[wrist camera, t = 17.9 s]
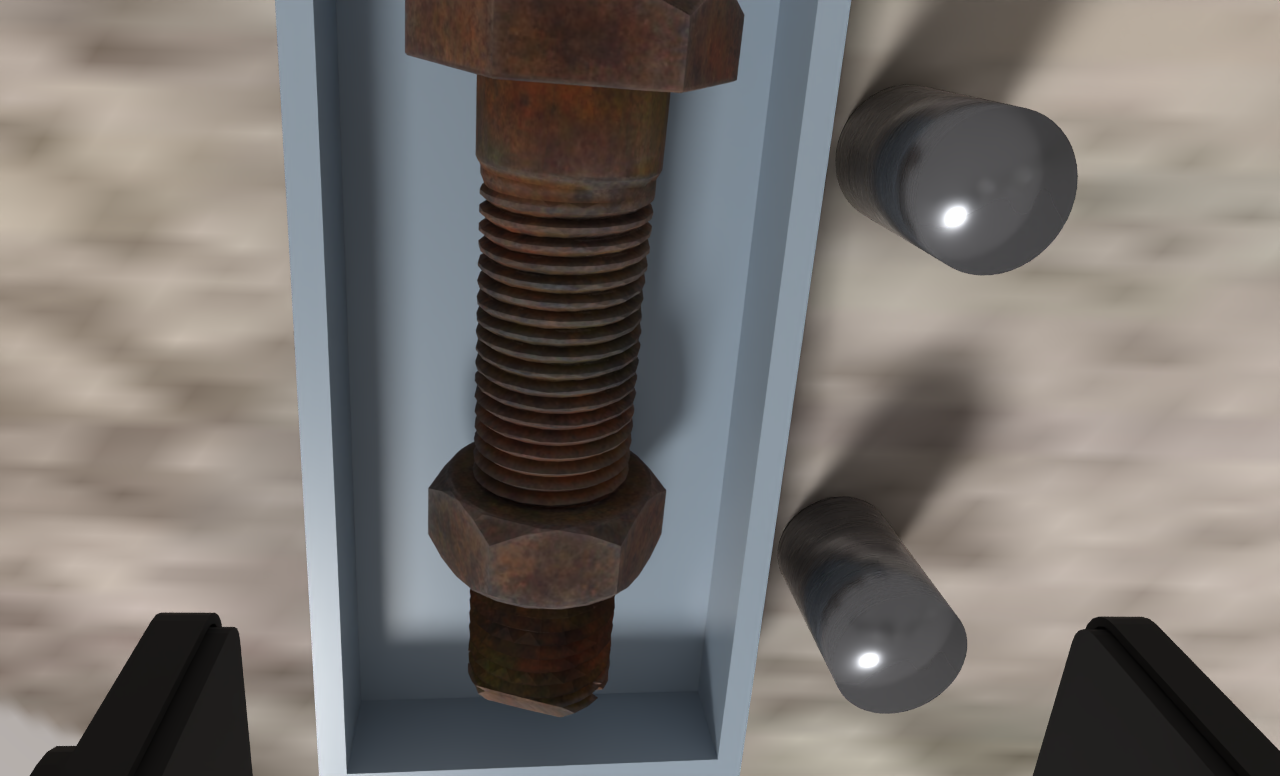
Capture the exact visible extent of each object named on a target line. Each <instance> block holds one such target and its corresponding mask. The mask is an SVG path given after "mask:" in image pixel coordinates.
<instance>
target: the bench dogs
mask: <svg viewBox="0 0 1280 776" xmlns="http://www.w3.org/2000/svg"><path fill="white" fill-rule="evenodd" d="M836 173H837V179H838V182H839V185H840V188H841V190H842V192H843V194H844V196H845V197H846V199H847V200H848V202H849V203H850V204H851V205H852V206H853V207H854V208H855V209H856V210H857V211H859V212H860V213H862V214H863V215H865V216H866V217H868V218H870V219H871V220H873V221H875V222H876V223H878V224H880V225H881V226H883V227H885V228H886V229H888V230H890V231H892V232H893V233H895V234H897V235H898V236H900V237H902V238H903V239H905V240H907V241H908V242H910V243H912V244H913V245H915V246H917V247H918V248H920V249H922V250H923V251H925V252H927V253H928V254H930V255H932V256H933V257H935V258H937V259H938V260H940V261H942V262H943V263H945V264H947V265H948V266H950V267H952V268H954V269H956V270H958V271H961V272H964V273H968V274H973V275H994V274H1000V273H1004V272H1008V271H1011V270H1013V269H1016V268H1018V267H1020V266H1022V265H1024V264H1026V263H1028V262H1029V261H1031V260H1032V259H1034V258H1035V257H1036V256H1038V255H1039V254H1040V253H1041V252H1042V251H1044V250H1045V249H1046V248H1047V247H1048V246H1049V245H1050V244H1051V242H1052V241H1053V240H1054V239H1055V238H1056V236H1057V235H1058V234H1059V232H1060V231H1061V229H1062V228H1063V226H1064V224H1065V222H1066V221H1067V219H1068V216H1069V214H1070V212H1071V209H1072V206H1073V203H1074V200H1075V195H1076V190H1077V177H1078V175H1077V164H1076V159H1075V155H1074V152H1073V149H1072V146H1071V144H1070V142H1069V140H1068V138H1067V137H1066V135H1065V134H1064V133H1063V131H1062V130H1061V129H1060V128H1059V127H1058V126H1057V125H1056V124H1055V123H1054V122H1053V121H1052V120H1050V119H1049V118H1048V117H1046V116H1045V115H1043V114H1040V113H1038V112H1036V111H1033V110H1030V109H1027V108H1022V107H1018V106H1013V105H1008V104H1004V103H999V102H994V101H990V100H985V99H980V98H975V97H971V96H966V95H961V94H957V93H952V92H947V91H943V90H938V89H933V88H929V87H924V86H918V85H900V86H894V87H891V88H887V89H885V90H883V91H880V92H878V93H877V94H875V95H873V96H871V97H870V98H869V99H867V100H866V101H865V102H864V103H862V104H861V105H860V106H859V107H858V108H857V109H856V111H855V112H854V113H853V114H852V116H851V117H850V118H849V120H848V122H847V123H846V125H845V127H844V129H843V131H842V133H841V136H840V139H839V142H838V146H837V151H836ZM778 563H779V568H780V570H781V573H782V575H783V577H784V579H785V581H786V583H787V585H788V587H789V589H790V591H791V593H792V595H793V597H794V599H795V601H796V603H797V605H798V607H799V609H800V611H801V614H802V616H803V618H804V620H805V622H806V624H807V626H808V628H809V630H810V632H811V634H812V636H813V638H814V640H815V642H816V644H817V646H818V648H819V650H820V652H821V654H822V656H823V658H824V660H825V662H826V664H827V666H828V668H829V670H830V672H831V674H832V676H833V678H834V680H835V682H836V684H837V686H838V688H839V690H840V692H841V693H842V694H843V696H844V697H845V698H846V699H847V700H848V701H850V702H851V703H852V704H854V705H855V706H857V707H859V708H861V709H864V710H866V711H870V712H875V713H888V714H889V713H899V712H904V711H908V710H911V709H915V708H917V707H919V706H922V705H924V704H926V703H928V702H929V701H931V700H933V699H934V698H936V697H937V696H938V695H940V694H941V693H942V692H943V691H944V690H945V689H946V688H947V687H948V686H949V685H950V684H951V683H952V682H953V681H954V679H955V678H956V677H957V675H958V673H959V672H960V670H961V668H962V666H963V663H964V660H965V657H966V652H967V637H966V632H965V629H964V626H963V624H962V623H961V621H960V619H959V618H958V617H957V615H956V614H955V613H954V611H953V610H952V609H951V607H950V606H949V605H948V603H947V602H946V600H945V599H944V598H943V596H942V595H941V594H940V592H939V591H938V590H937V588H936V587H935V586H934V584H933V583H932V582H931V580H930V579H929V578H928V576H927V575H926V574H925V572H924V571H923V569H922V568H921V567H920V565H919V564H918V563H917V561H916V560H915V559H914V557H913V556H912V555H911V553H910V552H909V551H908V549H907V548H906V547H905V545H904V544H903V543H902V541H901V540H900V538H899V537H898V536H897V534H896V533H895V532H894V530H893V529H892V528H891V526H890V525H889V524H888V522H887V521H886V520H885V518H884V517H883V516H882V514H881V513H880V512H879V511H878V510H877V509H876V508H875V507H873V506H872V505H871V504H869V503H867V502H865V501H862V500H859V499H856V498H851V497H835V498H829V499H825V500H822V501H819V502H817V503H815V504H812V505H811V506H809V507H807V508H806V509H804V510H803V511H801V512H800V513H799V514H798V515H797V516H796V517H795V518H794V519H793V520H792V521H791V522H790V523H789V525H788V526H787V528H786V529H785V531H784V533H783V535H782V537H781V540H780V543H779V547H778Z"/></svg>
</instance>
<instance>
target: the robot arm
mask: <svg viewBox="0 0 1280 776" xmlns="http://www.w3.org/2000/svg"><path fill="white" fill-rule="evenodd" d="M30 776H253V774H252V764H251V753H250V742H249V731H248V721H247V710H246V699H245V689H244V678H243V667H242V657H241V646H240V637H239V632H238V630H237V628H235V627H222V624H221V620H220V618H219V616H218V615H217V614H216V613H159V614H157V615H156V616H155V617H154V618H153V620H152V621H151V622H150V624H149V626H148V627H147V629H146V631H145V632H144V634H143V636H142V637H141V639H140V641H139V642H138V644H137V646H136V647H135V649H134V651H133V652H132V654H131V656H130V657H129V659H128V661H127V662H126V664H125V666H124V667H123V669H122V671H121V672H120V674H119V676H118V677H117V679H116V681H115V682H114V684H113V686H112V687H111V689H110V691H109V692H108V694H107V696H106V697H105V699H104V701H103V702H102V704H101V706H100V707H99V709H98V711H97V712H96V714H95V716H94V717H93V719H92V721H91V722H90V724H89V726H88V727H87V729H86V731H85V732H84V734H83V736H82V738H81V739H80V741H79V742H78V744H77V746H56V747H55V748H53V749H51V750H50V751H48V752H47V753H46V754H45V755H44V756H43V758H42V759H41V760H40V761H39V763H38V764H37V765H36V767H35V768H34V770H33V772H32V773H31V775H30ZM1033 776H1280V751H1279V750H1278V749H1277V748H1276V747H1275V746H1274V745H1273V744H1272V743H1271V742H1270V740H1269V739H1268V738H1267V737H1266V736H1265V735H1264V734H1263V733H1262V732H1261V731H1260V730H1259V729H1258V728H1257V727H1256V726H1255V725H1254V724H1253V723H1252V722H1251V721H1250V720H1249V719H1248V718H1247V717H1246V716H1245V715H1244V714H1243V713H1242V712H1241V711H1240V710H1239V709H1238V708H1237V707H1236V706H1235V705H1234V704H1233V703H1232V701H1231V700H1230V699H1229V698H1228V697H1227V696H1226V695H1225V694H1224V693H1223V692H1222V691H1221V690H1220V689H1219V688H1218V687H1217V686H1216V685H1215V684H1214V683H1213V682H1212V681H1211V680H1210V679H1209V678H1208V677H1207V676H1206V675H1205V674H1204V673H1203V672H1202V671H1201V670H1200V669H1199V668H1198V667H1197V666H1196V665H1195V664H1194V662H1193V661H1192V660H1191V659H1190V658H1189V657H1188V656H1187V655H1186V654H1185V653H1184V652H1183V651H1182V650H1181V649H1180V648H1179V647H1178V646H1177V645H1176V644H1175V643H1174V642H1173V641H1172V640H1171V639H1170V638H1169V637H1168V636H1167V635H1166V634H1165V633H1164V632H1163V631H1162V630H1161V629H1160V628H1159V627H1158V626H1157V624H1155V623H1154V622H1153V621H1151V620H1150V619H1148V618H1144V617H1097V618H1093V619H1092V620H1091V621H1090V622H1089V623H1088V625H1087V627H1086V629H1083V630H1080V631H1078V632H1077V633H1076V634H1075V636H1074V639H1073V641H1072V644H1071V648H1070V651H1069V655H1068V658H1067V661H1066V665H1065V668H1064V672H1063V675H1062V678H1061V682H1060V685H1059V689H1058V692H1057V695H1056V699H1055V702H1054V706H1053V709H1052V712H1051V716H1050V719H1049V723H1048V726H1047V729H1046V733H1045V736H1044V739H1043V743H1042V746H1041V750H1040V753H1039V756H1038V760H1037V763H1036V767H1035V770H1034V773H1033Z"/></svg>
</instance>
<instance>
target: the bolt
mask: <svg viewBox="0 0 1280 776" xmlns="http://www.w3.org/2000/svg"><path fill="white" fill-rule="evenodd" d="M744 16H745V15H744V13H743V11H742V9H741V7H740V5H739V3H738V1H737V0H405V53H406V55H408V56H412V57H416V58H419V59H423V60H427V61H430V62H434V63H437V64H441V65H445V66H448V67H452V68H456V69H459V70H463V71H466V72H470V73H474V74H477V87H476V153H475V155H476V157H477V159H478V161H479V163H480V173H481V176H482V179H483V182H484V183H482V185H481V187H480V193H479V194H480V195H482V196H483V197H484V198H485V199H486V200H485V201H483V202H482V203H481V204H479V212H480V213H481V214H482V215H483V216H484V217H485V218H484V219H483V220H481V221H480V222H479V231H480V232H481V233H482V234H483V235H484V236H483V237H482V238H481V239H479V240H478V245H479V248H480V251H481V252H482V254H480V257H479V260H478V267H479V268H480V269H481V270H482V271H480V274H479V276H478V279H477V282H478V285H479V288H480V289H479V292H478V294H477V304H478V305H479V307H478V310H477V312H476V316H477V321H478V325H477V328H476V334H477V337H478V340H477V344H476V351H477V352H478V355H477V357H476V360H475V364H476V367H477V370H478V371H477V372H476V373H475V382H476V384H477V387H476V391H475V396H474V397H475V398H476V400H477V402H476V406H475V414H476V415H477V416H476V418H475V426H474V427H475V429H476V432H475V436H474V442H472V443H470V444H469V445H467V446H465V447H464V448H462V449H461V450H459V451H458V452H457V453H456V454H455V455H454V457H453V458H452V459H451V460H450V461H449V462H448V463H447V464H446V465H445V466H444V467H443V469H442V470H441V471H440V473H439V474H438V475H437V477H436V478H435V480H434V481H433V482H432V484H431V485H430V486H429V488H428V535H429V537H430V538H431V540H432V542H433V544H434V545H435V547H436V549H437V551H438V552H439V554H440V556H441V558H442V559H443V560H444V562H445V563H446V564H447V566H448V567H449V568H450V569H451V571H452V572H453V573H454V575H455V576H456V577H457V578H459V579H460V580H461V581H462V582H463V583H465V584H466V585H467V586H468V587H469V588H470V599H469V601H470V611H469V616H470V624H469V631H470V639H469V645H468V646H469V647H468V651H470V652H469V653H468V656H469V663H468V674H469V676H470V678H471V681H472V682H473V684H474V685H475V686H476V689H477V692H478V694H479V695H481V696H482V697H484V698H485V699H487V700H490V701H494V702H498V703H502V704H506V705H510V706H514V707H518V708H522V709H526V710H530V711H535V712H539V713H543V714H548V715H552V716H556V717H564V716H567V715H570V714H574V713H576V712H578V711H580V710H582V709H584V708H586V707H588V706H589V705H590V704H591V703H593V702H594V701H595V700H596V699H597V698H598V697H596V696H595V695H594V694H592V693H593V692H594V691H595V690H603V688H604V687H605V685H606V683H607V682H608V671H609V666H610V651H611V648H610V647H611V633H612V629H613V623H612V621H613V617H614V609H615V595H616V594H618V593H620V592H621V591H623V590H625V589H626V588H628V587H629V586H630V585H631V584H632V583H633V581H634V580H635V579H636V578H637V577H638V576H639V575H640V573H641V571H642V570H643V568H644V567H645V565H646V564H647V562H648V560H649V559H650V557H651V555H652V553H653V551H654V549H655V547H656V545H657V543H658V541H659V538H660V536H661V534H662V525H663V516H664V508H665V499H666V489H665V488H664V487H663V485H662V484H661V483H660V481H659V480H658V479H657V477H656V476H655V475H654V473H653V472H652V471H651V469H650V468H649V467H648V466H647V465H646V464H645V463H644V462H643V461H642V460H641V459H640V458H639V457H638V456H637V455H636V454H634V453H633V452H632V451H630V449H629V448H630V445H631V441H632V439H631V431H632V428H633V420H632V417H633V414H634V405H633V401H634V399H635V396H636V391H635V388H634V387H635V384H636V381H637V374H636V370H637V367H638V364H639V359H638V357H637V356H638V353H639V350H640V345H641V344H640V342H639V337H640V335H641V332H642V331H641V325H640V321H641V320H642V312H641V304H642V301H643V299H644V298H643V290H642V289H643V287H644V285H645V275H644V273H645V272H646V271H647V267H648V264H647V258H646V255H648V254H649V252H650V246H649V241H648V238H649V237H650V235H651V232H652V226H651V224H650V223H649V222H648V221H650V220H651V219H652V216H653V209H652V205H651V204H650V203H651V202H653V200H654V198H655V191H656V181H657V178H658V176H659V175H660V174H661V172H662V169H663V160H664V151H665V141H666V132H667V122H668V113H669V103H670V94H671V92H673V93H683V92H688V91H693V90H698V89H703V88H707V87H712V86H716V85H721V84H726V83H730V82H734V81H736V80H737V75H738V67H739V58H740V50H741V41H742V33H743V25H744Z"/></svg>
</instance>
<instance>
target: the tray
mask: <svg viewBox="0 0 1280 776" xmlns="http://www.w3.org/2000/svg"><path fill="white" fill-rule="evenodd" d="M737 1H738V3H739V5H740V7H741V9H742V11H743V13H744V15H745V16H744V25H743V33H742V41H741V50H740V58H739V67H738V75H737V80H736V81H734V82H730V83H726V84H721V85H716V86H712V87H707V88H703V89H698V90H693V91H688V92H683V93H673V92H671V94H670V103H669V113H668V122H667V132H666V141H665V151H664V160H663V169H662V172H661V174H660V175H659V176H658V178H657V181H656V191H655V198H654V200H653V202H651V203H650V204H651V205H652V209H653V216H652V219H651V220H650V221H648V222H649V223H650V224H651V226H652V232H651V235H650V237H649V238H648V241H649V246H650V252H649V254H648V255H646V258H647V264H648V267H647V271H646V272H645V273H644V275H645V285H644V287H643V289H642V290H643V298H644V299H643V301H642V304H641V312H642V320H641V321H640V325H641V331H642V332H641V335H640V337H639V342H640V344H641V345H640V350H639V353H638V356H637V357H638V359H639V364H638V367H637V370H636V374H637V381H636V384H635V387H634V388H635V391H636V396H635V399H634V401H633V405H634V414H633V417H632V420H633V428H632V431H631V439H632V441H631V445H630V448H629V449H630V451H632V452H633V453H634V454H636V455H637V456H638V457H639V458H640V459H641V460H642V461H643V462H644V463H645V464H646V465H647V466H648V467H649V468H650V469H651V471H652V472H653V473H654V475H655V476H656V477H657V479H658V480H659V481H660V483H661V484H662V485H663V487H664V488H665V489H666V499H665V508H664V516H663V525H662V534H661V536H660V538H659V541H658V543H657V545H656V547H655V549H654V551H653V553H652V555H651V557H650V559H649V560H648V562H647V564H646V565H645V567H644V568H643V570H642V571H641V573H640V575H639V576H638V577H637V578H636V579H635V580H634V581H633V583H632V584H631V585H630V586H629V587H628V588H626V589H625V590H623V591H621V592H620V593H618V594H616V595H615V609H614V617H613V621H612V623H613V629H612V633H611V647H610V648H611V651H610V666H609V671H608V682H607V683H606V685H605V687H604V688H603V690H595V691H594V692H593V693H592V694H594V695H595V696H596V697H598V698H597V699H596V700H595V701H594V702H593V703H591V704H590V705H589V706H588V707H586V708H584V709H582V710H580V711H578V712H576V713H574V714H570V715H567V716H564V717H556V716H552V715H548V714H543V713H539V712H535V711H530V710H526V709H522V708H518V707H514V706H510V705H506V704H502V703H498V702H494V701H490V700H487V699H485V698H484V697H482V696H481V695H479V694H478V692H477V689H476V686H475V685H474V684H473V682H472V681H471V678H470V676H469V674H468V663H469V656H468V653H469V652H470V651H468V647H469V646H468V645H469V639H470V631H469V624H470V616H469V611H470V601H469V599H470V588H469V587H468V586H467V585H466V584H465V583H463V582H462V581H461V580H460V579H459V578H457V577H456V576H455V575H454V573H453V572H452V571H451V569H450V568H449V567H448V566H447V564H446V563H445V562H444V560H443V559H442V558H441V556H440V554H439V552H438V551H437V549H436V547H435V545H434V544H433V542H432V540H431V538H430V537H429V535H428V488H429V486H430V485H431V484H432V482H433V481H434V480H435V478H436V477H437V475H438V474H439V473H440V471H441V470H442V469H443V467H444V466H445V465H446V464H447V463H448V462H449V461H450V460H451V459H452V458H453V457H454V455H455V454H456V453H457V452H458V451H459V450H461V449H462V448H464V447H465V446H467V445H469V444H470V443H472V442H474V436H475V432H476V429H475V427H474V426H475V418H476V416H477V415H476V414H475V406H476V402H477V400H476V398H475V397H474V396H475V391H476V387H477V384H476V382H475V373H476V372H477V371H478V370H477V367H476V364H475V360H476V357H477V355H478V352H477V351H476V344H477V340H478V337H477V334H476V328H477V325H478V321H477V316H476V312H477V310H478V307H479V305H478V304H477V294H478V292H479V289H480V288H479V285H478V282H477V279H478V276H479V274H480V271H482V270H481V269H480V268H479V267H478V260H479V257H480V254H482V252H481V251H480V248H479V245H478V240H479V239H481V238H482V237H483V236H484V235H483V234H482V233H481V232H480V231H479V222H480V221H481V220H483V219H484V218H485V217H484V216H483V215H482V214H481V213H480V212H479V204H481V203H482V202H483V201H485V200H486V199H485V198H484V197H483V196H482V195H480V194H479V193H480V187H481V185H482V183H484V182H483V179H482V176H481V173H480V163H479V161H478V159H477V157H476V155H475V153H476V87H477V74H474V73H470V72H466V71H463V70H459V69H456V68H452V67H448V66H445V65H441V64H437V63H434V62H430V61H427V60H423V59H419V58H416V57H412V56H408V55H406V53H405V0H275V6H276V24H277V41H278V59H279V77H280V94H281V112H282V129H283V147H284V165H285V182H286V200H287V218H288V235H289V253H290V270H291V288H292V306H293V323H294V341H295V358H296V376H297V394H298V411H299V429H300V446H301V464H302V482H303V499H304V517H305V534H306V552H307V570H308V587H309V605H310V622H311V640H312V658H313V675H314V693H315V710H316V728H317V746H318V763H319V776H740V769H741V762H742V755H743V748H744V741H745V734H746V728H747V721H748V714H749V707H750V700H751V693H752V686H753V679H754V672H755V665H756V658H757V651H758V644H759V637H760V630H761V623H762V616H763V609H764V603H765V596H766V589H767V582H768V575H769V568H770V561H771V554H772V547H773V540H774V533H775V526H776V519H777V512H778V505H779V498H780V491H781V484H782V477H783V471H784V464H785V457H786V450H787V443H788V436H789V429H790V422H791V415H792V408H793V401H794V394H795V387H796V380H797V373H798V366H799V359H800V352H801V346H802V339H803V332H804V325H805V318H806V311H807V304H808V297H809V290H810V283H811V276H812V269H813V262H814V255H815V248H816V241H817V234H818V227H819V221H820V214H821V207H822V200H823V193H824V186H825V179H826V172H827V165H828V158H829V151H830V144H831V137H832V130H833V123H834V116H835V109H836V102H837V95H838V89H839V82H840V75H841V68H842V61H843V54H844V47H845V40H846V33H847V26H848V19H849V12H850V5H851V0H737Z"/></svg>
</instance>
